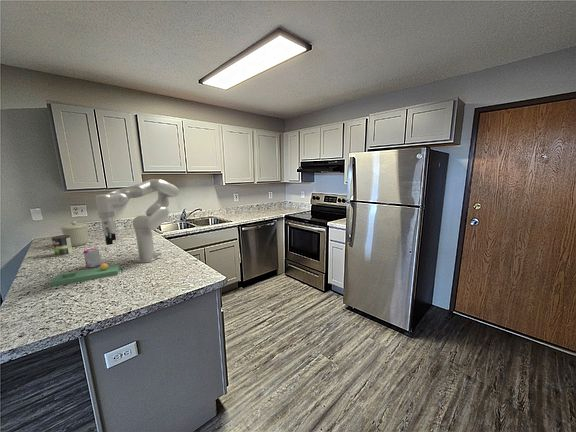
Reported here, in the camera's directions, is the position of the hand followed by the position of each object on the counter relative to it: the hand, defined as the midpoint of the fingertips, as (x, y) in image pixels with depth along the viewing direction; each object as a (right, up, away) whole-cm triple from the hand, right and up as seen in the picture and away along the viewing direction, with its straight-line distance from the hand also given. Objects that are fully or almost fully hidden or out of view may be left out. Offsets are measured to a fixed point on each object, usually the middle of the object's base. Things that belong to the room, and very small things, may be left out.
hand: (111, 242), depth 145 cm
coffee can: (-64, -14, +37) cm, 75 cm away
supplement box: (-21, -17, +12) cm, 30 cm away
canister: (-76, -9, +62) cm, 99 cm away
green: (-11, -20, -4) cm, 23 cm away
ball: (-4, -15, -1) cm, 15 cm away
